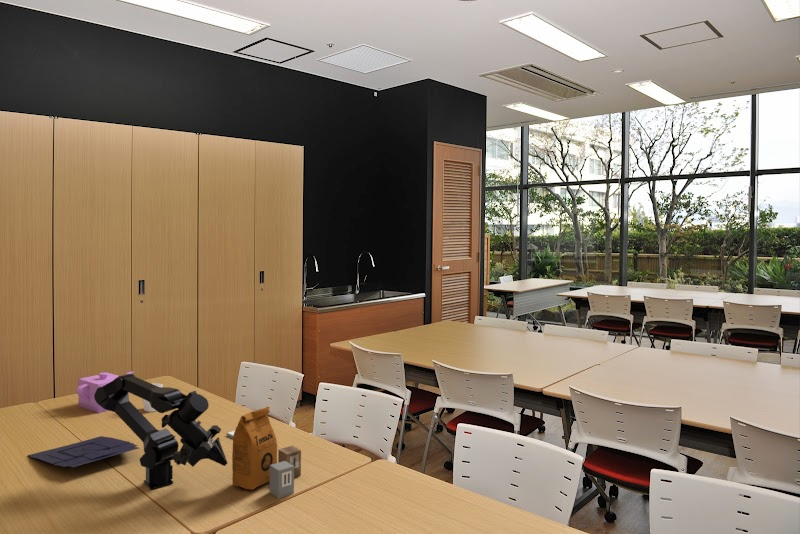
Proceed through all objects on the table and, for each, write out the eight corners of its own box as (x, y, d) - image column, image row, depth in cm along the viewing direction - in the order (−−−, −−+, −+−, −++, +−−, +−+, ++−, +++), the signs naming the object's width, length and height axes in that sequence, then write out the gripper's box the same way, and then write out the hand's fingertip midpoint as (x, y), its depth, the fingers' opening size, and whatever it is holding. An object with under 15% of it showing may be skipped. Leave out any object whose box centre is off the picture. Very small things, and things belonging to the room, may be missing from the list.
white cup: (158, 412, 238) (157, 388, 237) (138, 412, 238) (138, 387, 237) (166, 406, 245) (165, 383, 245) (147, 406, 246) (147, 382, 245)
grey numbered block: (279, 498, 165) (279, 471, 164) (269, 492, 169) (269, 464, 168) (294, 493, 168) (294, 466, 168) (284, 487, 172) (285, 460, 172)
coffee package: (282, 480, 177) (283, 408, 176) (250, 494, 167) (251, 419, 165) (259, 471, 183) (260, 402, 181) (227, 485, 172) (227, 412, 171)
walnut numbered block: (287, 480, 177) (287, 454, 176) (278, 474, 181) (278, 449, 180) (301, 476, 180) (301, 450, 180) (292, 470, 184) (292, 445, 184)
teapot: (144, 401, 252) (144, 369, 251) (86, 416, 231) (86, 381, 230) (124, 395, 260) (124, 364, 259) (66, 409, 239) (66, 375, 238)
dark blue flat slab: (67, 478, 172) (66, 466, 172) (26, 463, 190) (26, 452, 190) (146, 454, 191) (145, 443, 191) (102, 443, 209) (102, 433, 210)
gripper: (175, 436, 177) (212, 470, 179) (156, 460, 158) (198, 498, 160) (202, 410, 177) (239, 445, 179) (186, 431, 159) (228, 470, 161)
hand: (226, 464), depth 170 cm, fingers closed
